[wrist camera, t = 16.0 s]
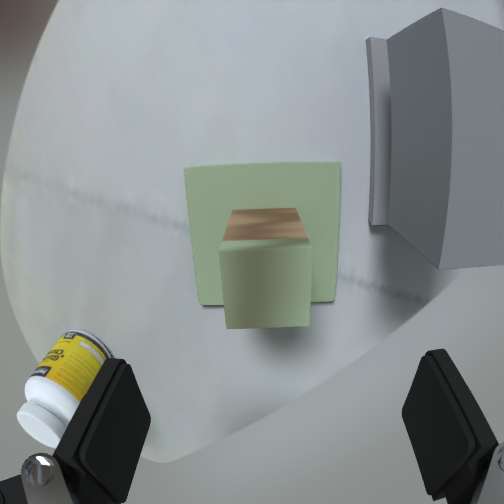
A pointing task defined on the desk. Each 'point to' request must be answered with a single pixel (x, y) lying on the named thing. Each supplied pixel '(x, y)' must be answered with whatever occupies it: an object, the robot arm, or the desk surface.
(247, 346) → the desk surface
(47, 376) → the pill bottle
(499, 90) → the mounted unit
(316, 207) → the mat
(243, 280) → the brown and green block
